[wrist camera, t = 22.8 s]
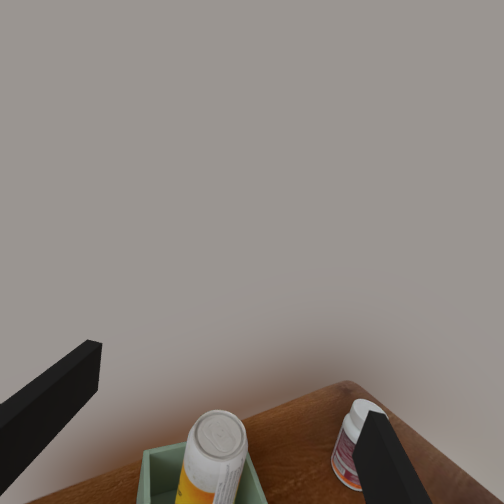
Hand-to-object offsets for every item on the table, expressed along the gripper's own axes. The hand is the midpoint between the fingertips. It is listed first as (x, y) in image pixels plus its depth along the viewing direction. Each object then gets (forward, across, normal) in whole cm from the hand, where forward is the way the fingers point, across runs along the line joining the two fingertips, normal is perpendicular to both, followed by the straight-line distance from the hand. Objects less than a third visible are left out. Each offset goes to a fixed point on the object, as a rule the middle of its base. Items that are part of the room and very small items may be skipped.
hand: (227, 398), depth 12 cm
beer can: (+10, 0, -29) cm, 30 cm away
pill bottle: (+23, +22, -29) cm, 43 cm away
